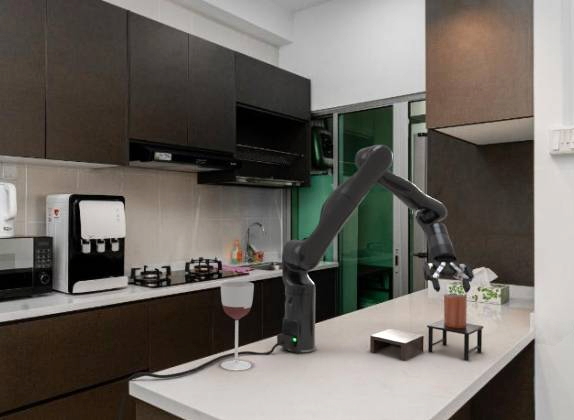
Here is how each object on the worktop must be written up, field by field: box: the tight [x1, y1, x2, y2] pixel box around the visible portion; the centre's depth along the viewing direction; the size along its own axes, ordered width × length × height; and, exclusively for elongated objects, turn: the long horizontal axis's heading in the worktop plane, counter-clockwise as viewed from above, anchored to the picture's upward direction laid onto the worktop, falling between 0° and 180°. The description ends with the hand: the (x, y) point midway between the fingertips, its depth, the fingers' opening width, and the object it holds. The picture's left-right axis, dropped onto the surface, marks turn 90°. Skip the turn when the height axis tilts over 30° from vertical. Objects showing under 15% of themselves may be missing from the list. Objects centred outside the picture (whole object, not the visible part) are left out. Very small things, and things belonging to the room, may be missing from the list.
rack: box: [426, 318, 484, 362], centre depth 143 cm, size 12×12×8 cm
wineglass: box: [220, 281, 255, 371], centre depth 129 cm, size 9×10×22 cm
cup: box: [443, 293, 468, 328], centre depth 143 cm, size 6×6×9 cm
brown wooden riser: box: [369, 328, 425, 361], centre depth 142 cm, size 12×11×5 cm
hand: (452, 290), depth 145 cm, fingers open, 8 cm apart
